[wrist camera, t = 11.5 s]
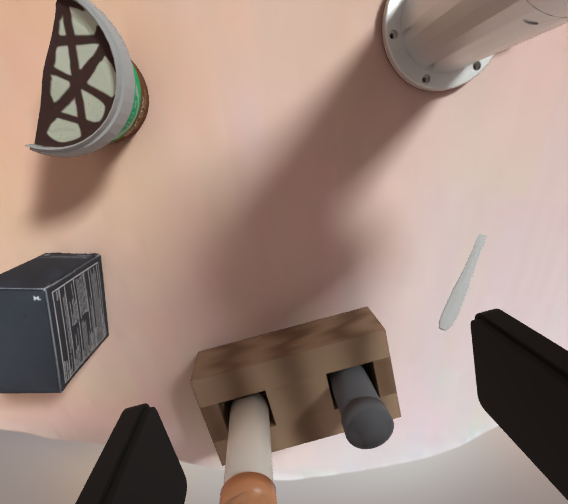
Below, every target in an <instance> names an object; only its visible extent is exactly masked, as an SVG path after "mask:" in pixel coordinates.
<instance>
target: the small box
mask: <svg viewBox="0 0 568 504" xmlns="http://www.w3.org/2000/svg"><path fill="white" fill-rule="evenodd" d="M108 336H109V333H108V322H107V312H106V302H105V292H104V282H103V272H102V263H101V255H99V254H95V253H93V254H86V253H85V254H70V253H68V254H65V253H45V254H43V255H41V256H39V257H37V258H35V259H32V260H30V261H28V262H26V263H24V264H21V265H19V266H17V267H15V268H13V269H11V270H9V271H6V272H4V273H2V274H0V393H61V392H62V391H63V390H64V389H65V387H66V386H67V384H68V383H69V382H70V380H71V379H72V378H73V377H74V375H75V374H76V373H77V371H78V370H79V369H80V368H81V367H82V366H83V365H84V363H85V362H86V361H87V360H88V359H89V357H90V356H91V355H92V354H93V353H94V351H95V350H96V349H97V348H98V347H99V346H100V345H101V343H102V342H103V341H104V340H105V339H106V338H107V337H108Z"/></svg>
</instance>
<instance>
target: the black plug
mask: <svg viewBox="0 0 568 504" xmlns="http://www.w3.org/2000/svg"><path fill="white" fill-rule="evenodd" d="M327 376H328V379H329V382H330V385H331V388H332V391H333V394H334V396H335V399H336V402H337V405H338V408H339V411H340V414H341V423H342V426H343V429H344V432H345V435H346V438H347V440H348V441H349V443H350V444H352V445H353V446H355V447H357V448H361V449H371V448H375V447H378V446H380V445H382V444H383V443H385V442H386V441H387V440H388V439H389V438H390V436H391V434H392V432H393V429H394V422H393V419H392V417H391V415H390V413H389V411H388V409H387V407H386V406H385V404H384V403H383V402H382V401H381V400H380V398H379V397H378V395H377V393H376V391H375V389H374V387H373V385H372V383H371V381H370V379H369V378H368V376H367V374H366V372H365V370H364V368H363V366H362V364H361V365H357V366H354V367H350V368H346V369H343V370H339V371H335V372H332V373H328V374H327Z"/></svg>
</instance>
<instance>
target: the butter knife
mask: <svg viewBox="0 0 568 504" xmlns="http://www.w3.org/2000/svg"><path fill="white" fill-rule="evenodd" d="M485 239H486V235H482V234H479V235H478V237H477V239H476V242H475V245H474V248H473V250H472V252H471V254H470V257H469V259H468V261H467V263H466V266H465V268H464V270H463V272H462V274H461V275H460V277H459V279H458V281H457V283H456V285H455V286H454V289H453V291H452V293H451V295H450V297H449V299H448V301H447V303H446V306H445V308H444V310H443V313H442V315H441V318H440V320H439V328H440V329H443V330H448V329H449V328H450V327H451V326H452V325H453V323H454V322H455V320H456V317H457V315H458V313H459V311H460V308H461V306H462V303H463V301H464V298H465V296H466V293H467V290H468V287H469V284H470V281H471V278H472V275H473V272H474V269H475V266H476V263H477V260H478V258H479V255H480V252H481V250H482V247H483V245H484V242H485Z"/></svg>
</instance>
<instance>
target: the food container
mask: <svg viewBox="0 0 568 504" xmlns="http://www.w3.org/2000/svg"><path fill="white" fill-rule="evenodd" d="M148 107H149V95H148V89H147V86H146V83H145V80H144V78H143V76H142V74H141V72H140V71H139V69H138V68H137V66H136V65H135V64H134V63H133V61H132V60H131V59H130V55H129V52H128V50H127V48H126V45H125V43H124V41H123V39H122V37H121V36H120V34H119V33H118V31H117V29H116V28H115V26H114V25H113V24H112V22H111V21H110V20H109V19H108V18H107V17H106V16H105V14H104V13H103V12H102V11H101V10H99V9H98V8H97V7H96V6H95V5H94V4H93V3H91V2H90V1H88V0H57V2H56V13H55V20H54V26H53V32H52V37H51V41H50V45H49V49H48V53H47V57H46V61H45V66H44V70H43V79H42V95H41V106H40V113H39V119H38V126H37V132H36V138H35V144H29V145H25V146H27V147H30V150H32V151H35V152H38V153H40V154H45V155H49V156H56V157H77V156H81V155H86V154H89V153H92V152H94V151H97V150H99V149H101V148H102V147H104V146H105V145H107V144H109V143H116V142H119V141H121V140H124V139H127V138H129V137H130V136H132V135H133V134H134V133H135V132H136V131H137V130H139V129H140V127H141V126H142V124H143V122H144V120H145V119H146V116H147V113H148Z"/></svg>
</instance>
